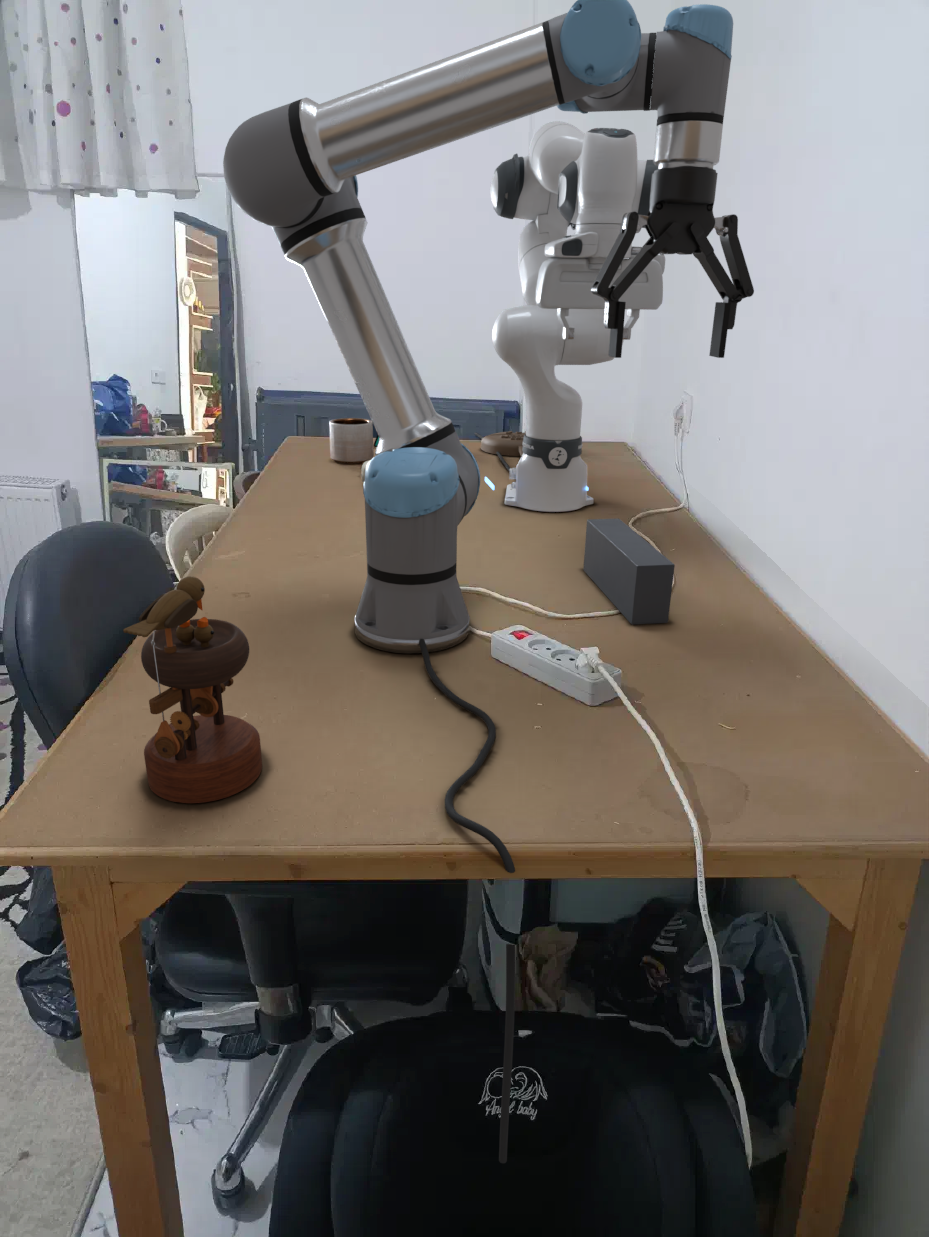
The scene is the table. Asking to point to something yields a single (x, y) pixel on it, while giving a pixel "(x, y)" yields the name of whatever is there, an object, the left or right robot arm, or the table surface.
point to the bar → (628, 571)
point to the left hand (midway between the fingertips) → (666, 357)
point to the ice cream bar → (503, 443)
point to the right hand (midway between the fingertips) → (596, 339)
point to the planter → (351, 440)
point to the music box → (195, 700)
